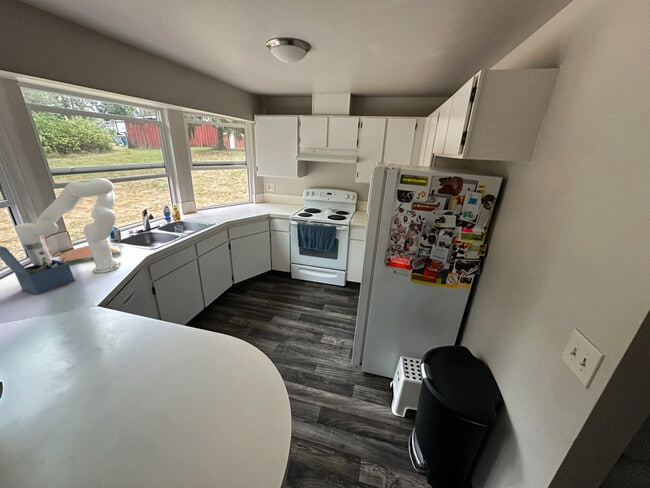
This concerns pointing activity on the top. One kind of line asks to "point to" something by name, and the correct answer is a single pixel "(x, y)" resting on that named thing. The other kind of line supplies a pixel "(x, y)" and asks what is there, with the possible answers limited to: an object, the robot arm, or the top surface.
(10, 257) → the freezer lid
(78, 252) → the tan flat block
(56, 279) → the blue bin
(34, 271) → the food container
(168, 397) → the top surface
